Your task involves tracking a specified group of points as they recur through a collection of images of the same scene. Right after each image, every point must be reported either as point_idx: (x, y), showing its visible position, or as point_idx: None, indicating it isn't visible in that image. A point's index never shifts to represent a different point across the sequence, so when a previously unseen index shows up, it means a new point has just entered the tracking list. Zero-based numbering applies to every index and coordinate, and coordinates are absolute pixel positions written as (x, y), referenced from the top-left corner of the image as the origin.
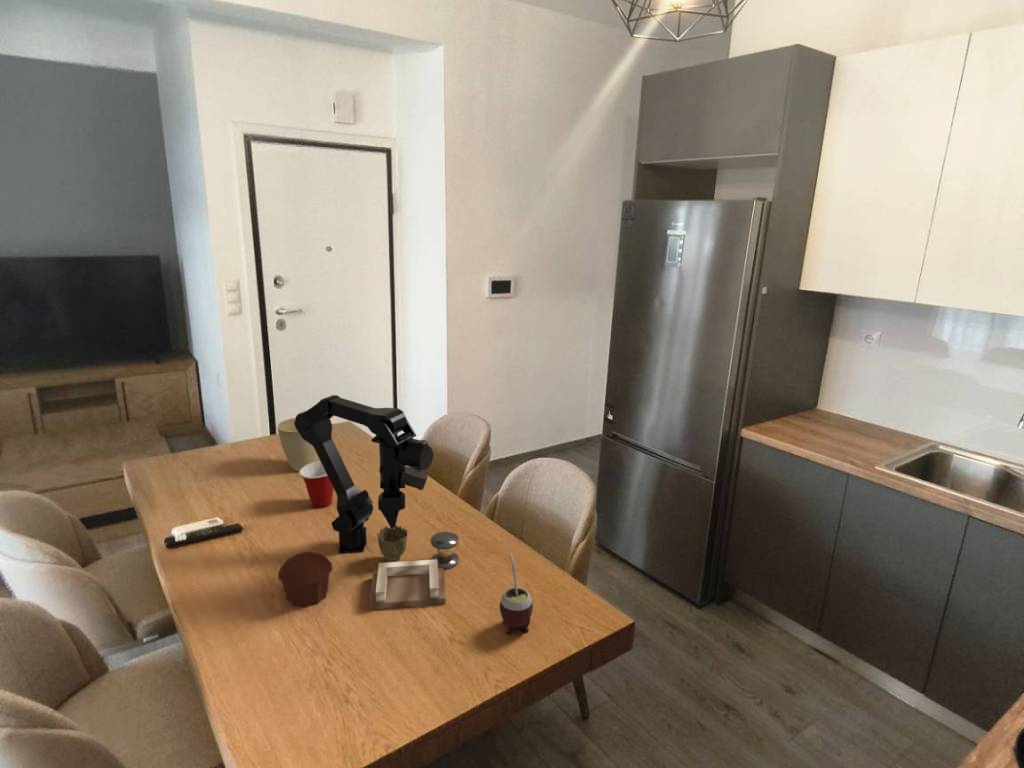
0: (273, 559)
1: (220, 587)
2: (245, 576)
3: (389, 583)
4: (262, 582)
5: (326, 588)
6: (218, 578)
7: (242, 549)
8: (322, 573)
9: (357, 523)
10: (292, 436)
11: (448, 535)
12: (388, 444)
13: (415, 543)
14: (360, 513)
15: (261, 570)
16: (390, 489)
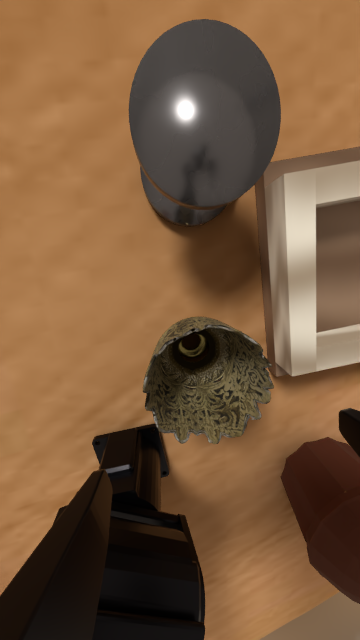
0: (199, 561)
1: (281, 585)
2: (253, 572)
3: (327, 323)
4: (272, 545)
5: (348, 453)
6: (257, 598)
7: None
8: None
9: (187, 542)
10: None
11: (169, 98)
12: None
13: (91, 297)
14: (168, 594)
15: (235, 561)
16: None
